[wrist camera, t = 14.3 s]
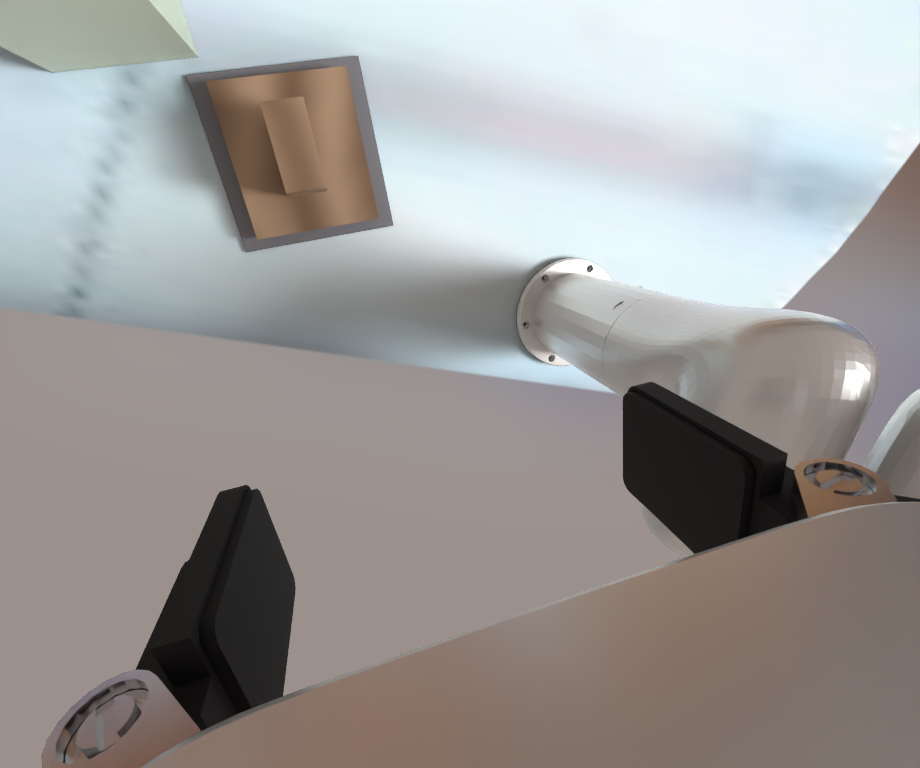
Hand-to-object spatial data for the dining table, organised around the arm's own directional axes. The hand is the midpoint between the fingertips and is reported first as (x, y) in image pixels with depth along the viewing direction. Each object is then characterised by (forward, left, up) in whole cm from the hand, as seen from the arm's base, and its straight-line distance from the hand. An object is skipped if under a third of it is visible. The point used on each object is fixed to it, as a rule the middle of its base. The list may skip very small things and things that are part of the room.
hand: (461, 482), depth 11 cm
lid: (+3, -12, -37) cm, 39 cm away
